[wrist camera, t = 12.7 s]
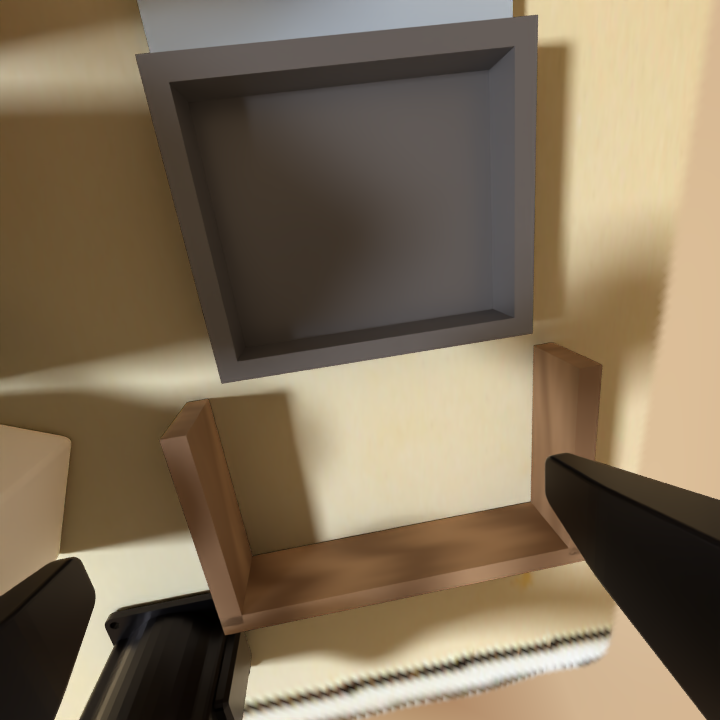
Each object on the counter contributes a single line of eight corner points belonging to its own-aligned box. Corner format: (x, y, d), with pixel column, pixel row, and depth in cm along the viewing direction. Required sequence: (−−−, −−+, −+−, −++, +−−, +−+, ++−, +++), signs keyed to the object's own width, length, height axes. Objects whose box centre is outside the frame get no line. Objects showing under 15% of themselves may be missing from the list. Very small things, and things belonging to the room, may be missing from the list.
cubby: (238, 573, 22) (225, 635, 18) (186, 402, 18) (159, 440, 15) (546, 512, 23) (586, 560, 20) (552, 342, 19) (602, 364, 16)
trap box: (233, 363, 18) (221, 383, 15) (164, 83, 14) (135, 54, 12) (504, 320, 19) (532, 333, 16) (502, 48, 15) (538, 14, 13)
